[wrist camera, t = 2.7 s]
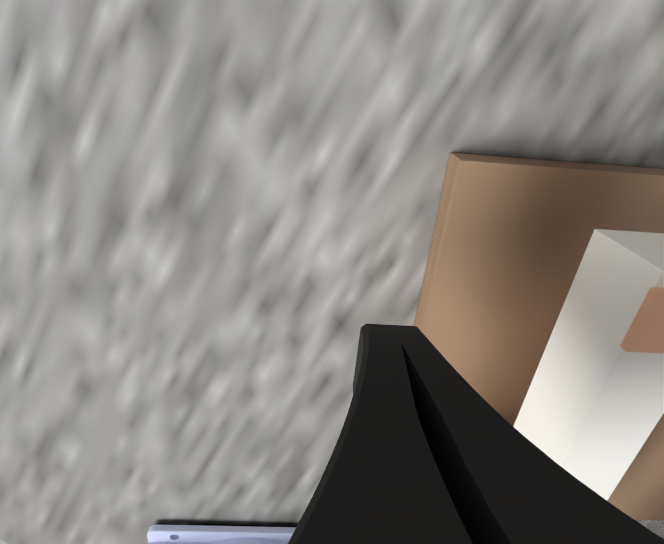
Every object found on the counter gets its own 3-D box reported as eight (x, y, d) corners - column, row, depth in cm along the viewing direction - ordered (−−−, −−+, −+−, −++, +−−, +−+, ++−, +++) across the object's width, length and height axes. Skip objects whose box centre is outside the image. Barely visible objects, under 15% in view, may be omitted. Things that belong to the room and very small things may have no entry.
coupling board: (378, 491, 22) (388, 564, 19) (450, 152, 13) (490, 180, 10) (733, 500, 23) (797, 569, 20) (1003, 194, 14) (1188, 231, 11)
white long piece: (551, 567, 18) (583, 639, 16) (401, 565, 18) (413, 638, 16) (753, 239, 11) (870, 287, 9) (502, 222, 10) (554, 268, 8)
